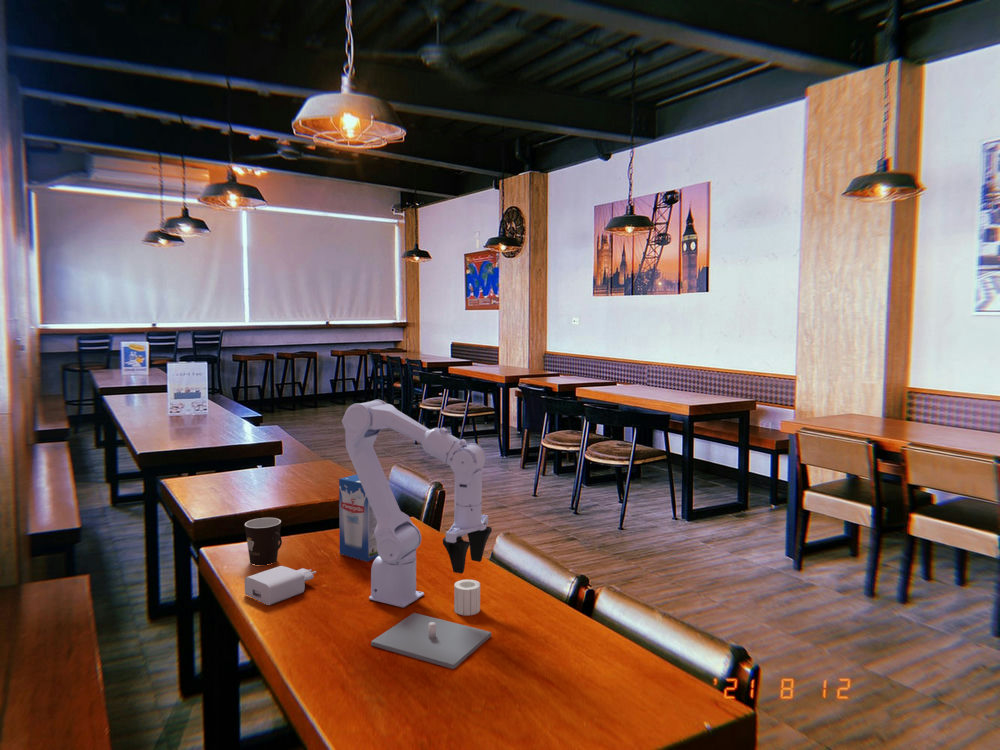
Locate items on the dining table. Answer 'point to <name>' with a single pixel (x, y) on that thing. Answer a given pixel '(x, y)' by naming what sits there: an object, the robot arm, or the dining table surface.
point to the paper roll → (467, 597)
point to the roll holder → (432, 640)
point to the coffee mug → (263, 540)
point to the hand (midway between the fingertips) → (467, 566)
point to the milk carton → (356, 521)
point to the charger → (277, 584)
